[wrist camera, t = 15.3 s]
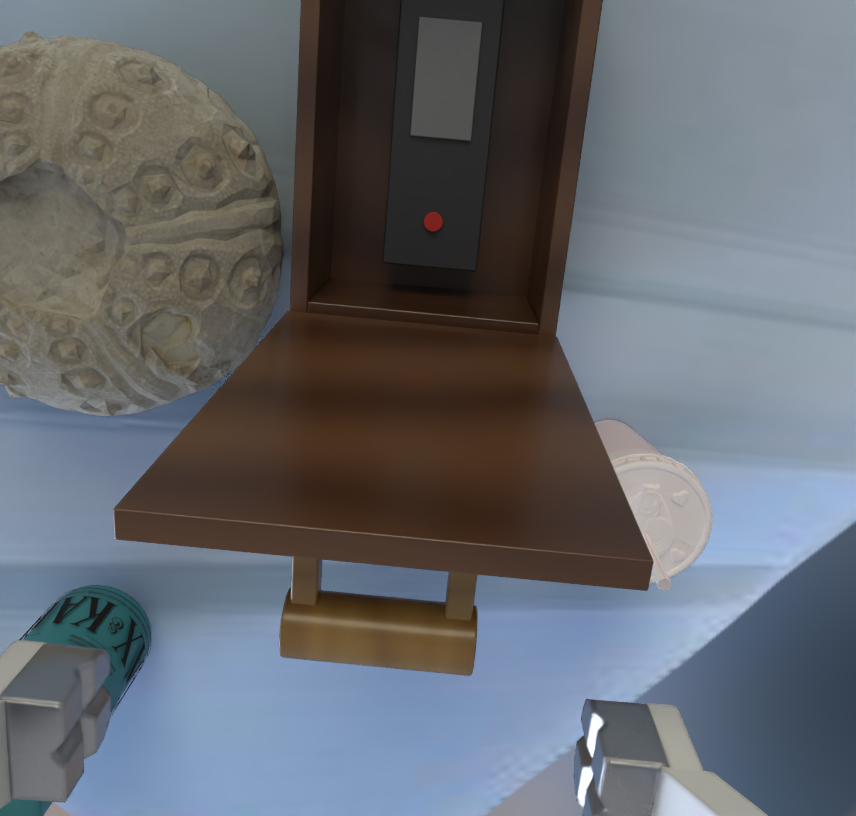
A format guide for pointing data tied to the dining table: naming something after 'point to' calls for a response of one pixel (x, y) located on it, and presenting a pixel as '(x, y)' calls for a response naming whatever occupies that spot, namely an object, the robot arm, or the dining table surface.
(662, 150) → the dining table surface
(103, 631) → the beverage bottle
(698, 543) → the smoothie
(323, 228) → the chest
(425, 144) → the remote
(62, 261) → the decorative shell
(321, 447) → the lid
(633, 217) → the dining table surface
